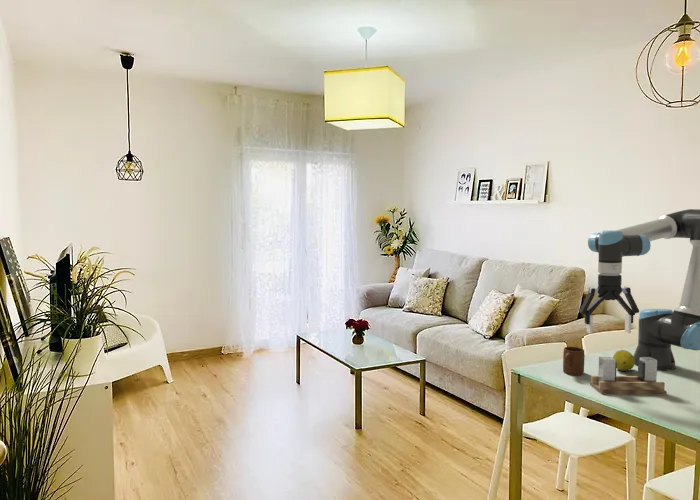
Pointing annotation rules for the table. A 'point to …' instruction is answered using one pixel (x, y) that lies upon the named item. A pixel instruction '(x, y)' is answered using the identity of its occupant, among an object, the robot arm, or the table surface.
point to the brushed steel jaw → (607, 369)
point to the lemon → (624, 360)
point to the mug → (573, 360)
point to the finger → (647, 369)
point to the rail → (628, 386)
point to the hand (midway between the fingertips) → (608, 332)
